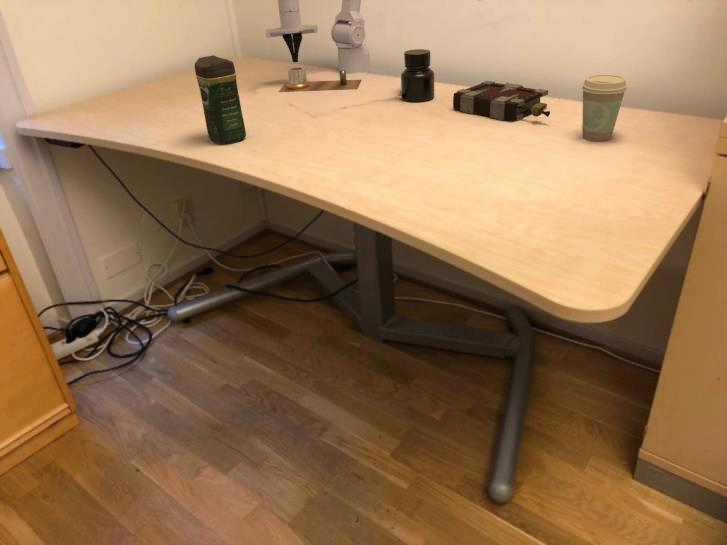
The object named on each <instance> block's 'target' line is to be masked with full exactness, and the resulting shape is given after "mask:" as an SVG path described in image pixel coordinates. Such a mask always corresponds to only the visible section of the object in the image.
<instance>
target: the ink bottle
mask: <svg viewBox="0 0 727 545" xmlns="http://www.w3.org/2000/svg"><path fill="white" fill-rule="evenodd" d="M403 56H404V57H403V58H404V67H405V68H404V70H403V71H402V72H401V74H400V89H401V94H400V95H401V99H402V100H403V101H406V102H409V103H410V102H412V103H419V102H420V103H421V102H427V101H428V102H429V101H431V100H432V99H434V98H435V72H434V71H433V70H432V69H431V50H429V49H424V48H423V49H422V48H421V49H420V48H419V49H417V48H416V49H410V50H405V51H404V53H403Z"/></svg>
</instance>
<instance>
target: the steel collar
mask: <svg viewBox="0 0 727 545" xmlns="http://www.w3.org/2000/svg"><path fill="white" fill-rule="evenodd" d="M293 69H299V70H293ZM306 72H307V70H306V67H304V66H295V67H289V68H288V69H287V77H288V82H289V84H290V85H302V84H306V83H307V81H308V80H307V73H306Z"/></svg>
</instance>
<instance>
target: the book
mask: <svg viewBox="0 0 727 545" xmlns="http://www.w3.org/2000/svg"><path fill="white" fill-rule="evenodd" d="M547 95H549V90H548V89H544V88H543V89H542V88H538V89H535V88H530V87H524V86H523V85H522V84H517V83H516V84H515V83H510V82H506V83H505V84H504V83H498V82H496V81H492V80H484V81H481V83H479V84H477V85H474V86H471V87H468V88H462V89H460V90H459V89H458V90H457V91H455V92H454V93H453V96H452V99H453V100H452V107H453V110H456V111H460V112H462V113H465V114H470V115H473V114H474V115H475V114H476V115H480V116H484V117H485V116H486V117H488V118H492V119H493V120H497V121H508V122H518V121H521V120H523V119H524V117H527V116H529V115H532V116H534V117H537V118H538V117H540V116H541V115H542V114H543V115H544V116H545V117H547V118H548V117H550V115H551V111H550V110H548V111H547V110H545V109H547V106H548V104H547V103H545V102H541V98H544V97H546V96H547ZM544 110H545V111H544Z"/></svg>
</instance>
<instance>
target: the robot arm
mask: <svg viewBox="0 0 727 545" xmlns="http://www.w3.org/2000/svg"><path fill="white" fill-rule="evenodd" d="M361 2H362V0H342V2H341V10H340V11H339V12H338V14H337V15H336V16H335V19H334V22H333V23H334V24H333V25H332V28H331V31H330V34H331V35H330V36H331V39H332V41H333V42H334V43H335V46H336V47H337V59H338V70H339V71H340V70H346V75H353V74H357V73H362V72H366V71H371V59H370V58H371V55H370V49H369V47H368V46H367V45H366V43H365V44H364V40H365V39H366V29H365V19H364V18H363V16H361V14H360V10H361V5H362V3H361ZM299 3H300V2H299V0H277V5H278V6H277V7H278V13H279V14H278V15H279V21H280V22H279V23H280V27H275V28H268V29H265V35H266V36H265V37H266V38H267V39H269V38H275V37H282V39H283V40H284V42H285V44H286V46H287V48H288V51H289V53H290V56H291V58H292V60H291V61H292V63H298V62H299V51H300V47H301V44H302V40H303V35H305V34H319V32H318V25H317V24H312V25H311V24H306V25H302V21H301V13H300V4H299Z"/></svg>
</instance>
